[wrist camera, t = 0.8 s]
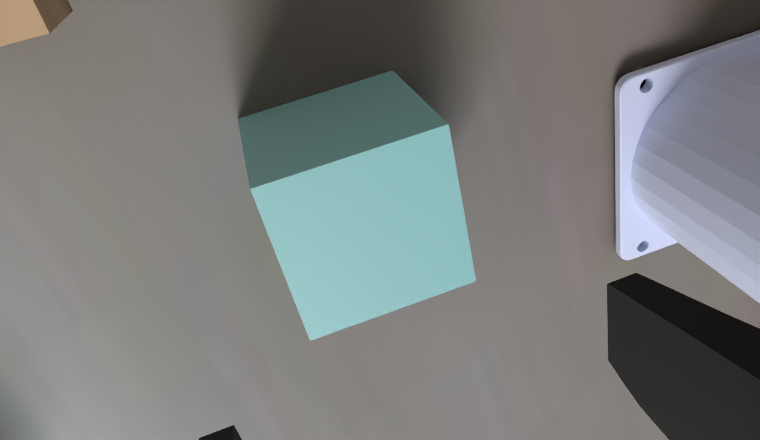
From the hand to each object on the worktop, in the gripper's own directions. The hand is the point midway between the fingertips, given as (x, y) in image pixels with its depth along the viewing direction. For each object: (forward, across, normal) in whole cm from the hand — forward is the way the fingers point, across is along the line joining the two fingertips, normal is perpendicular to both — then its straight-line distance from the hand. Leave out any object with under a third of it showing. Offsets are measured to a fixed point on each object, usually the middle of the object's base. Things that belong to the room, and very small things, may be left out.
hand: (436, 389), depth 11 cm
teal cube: (+10, 0, 0) cm, 10 cm away
